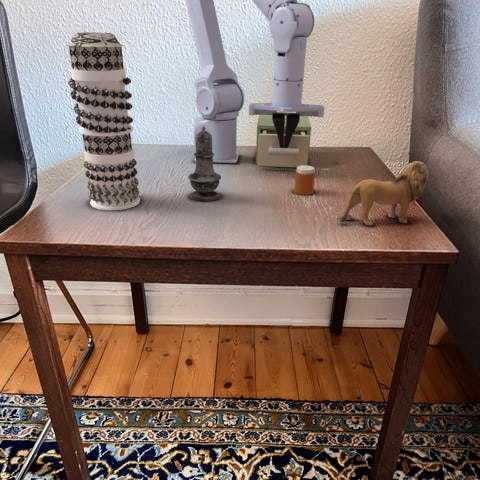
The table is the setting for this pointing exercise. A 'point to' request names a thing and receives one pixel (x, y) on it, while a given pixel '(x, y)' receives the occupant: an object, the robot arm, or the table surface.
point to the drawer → (282, 149)
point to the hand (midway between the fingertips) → (283, 153)
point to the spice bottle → (304, 180)
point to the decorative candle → (104, 119)
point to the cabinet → (267, 123)
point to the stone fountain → (204, 169)
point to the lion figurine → (389, 192)
